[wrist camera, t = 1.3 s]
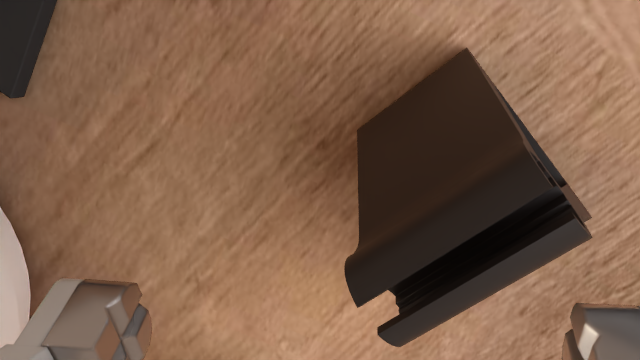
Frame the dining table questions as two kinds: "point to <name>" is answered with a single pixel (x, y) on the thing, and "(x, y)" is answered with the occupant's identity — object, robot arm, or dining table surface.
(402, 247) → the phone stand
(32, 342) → the robot arm
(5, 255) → the bowl
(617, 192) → the dining table surface
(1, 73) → the dock pad
